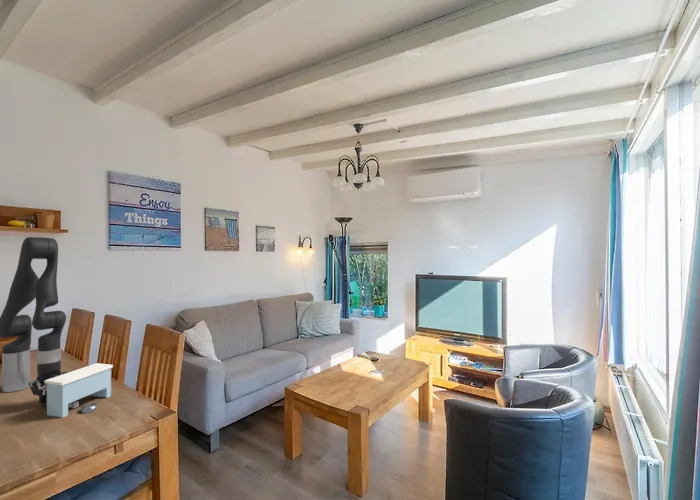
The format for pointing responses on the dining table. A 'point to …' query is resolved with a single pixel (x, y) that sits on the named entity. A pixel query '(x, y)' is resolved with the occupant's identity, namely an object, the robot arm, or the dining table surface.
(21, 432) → the dining table surface
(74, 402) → the wooden cube mallet
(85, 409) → the token
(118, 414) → the dining table surface
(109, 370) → the bench
